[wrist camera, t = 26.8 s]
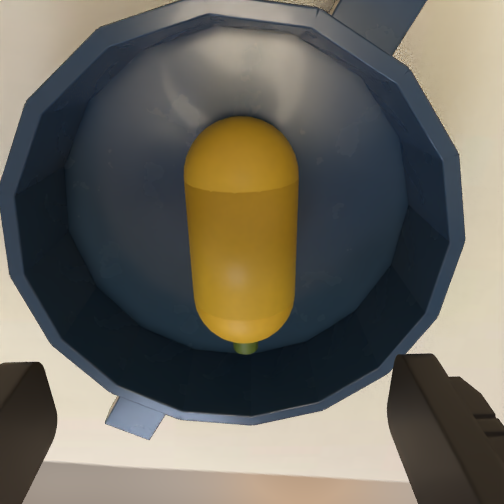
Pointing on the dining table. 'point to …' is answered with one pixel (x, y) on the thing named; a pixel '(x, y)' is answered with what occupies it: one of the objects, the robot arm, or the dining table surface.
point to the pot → (175, 215)
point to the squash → (242, 228)
